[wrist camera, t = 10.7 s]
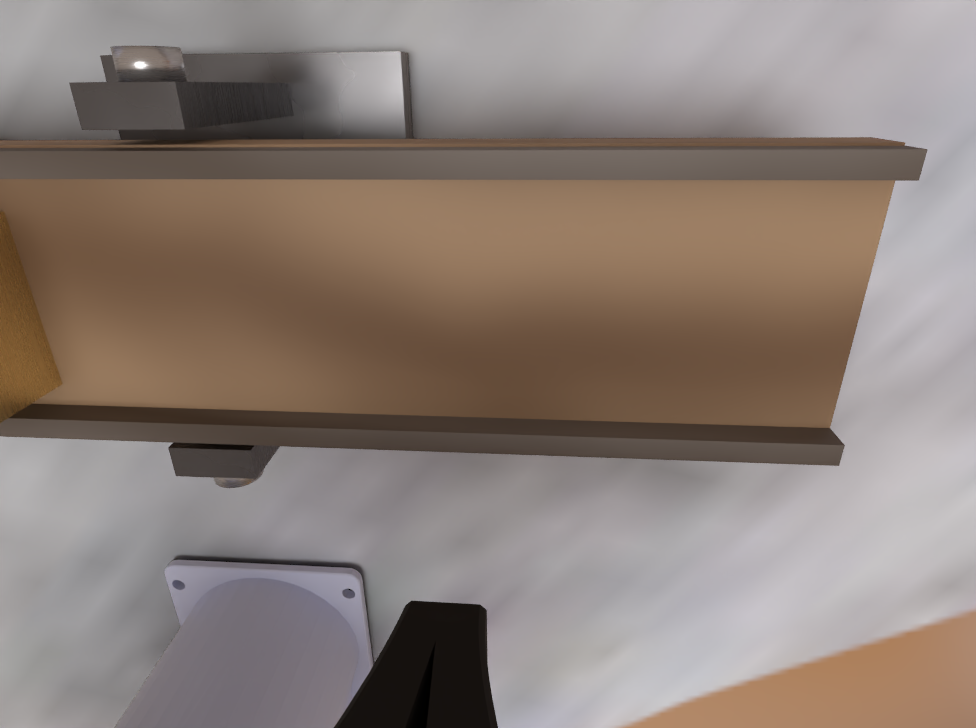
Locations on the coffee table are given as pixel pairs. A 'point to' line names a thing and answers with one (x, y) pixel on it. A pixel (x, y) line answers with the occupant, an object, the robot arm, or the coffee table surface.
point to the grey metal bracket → (245, 136)
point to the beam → (452, 291)
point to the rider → (20, 336)
